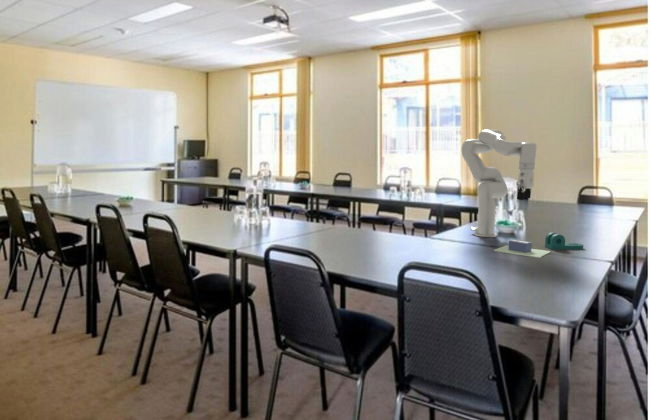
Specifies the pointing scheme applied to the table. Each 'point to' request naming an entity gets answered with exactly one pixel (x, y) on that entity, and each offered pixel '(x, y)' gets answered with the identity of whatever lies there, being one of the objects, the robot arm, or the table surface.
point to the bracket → (559, 242)
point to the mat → (533, 253)
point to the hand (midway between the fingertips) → (523, 198)
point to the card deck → (520, 246)
